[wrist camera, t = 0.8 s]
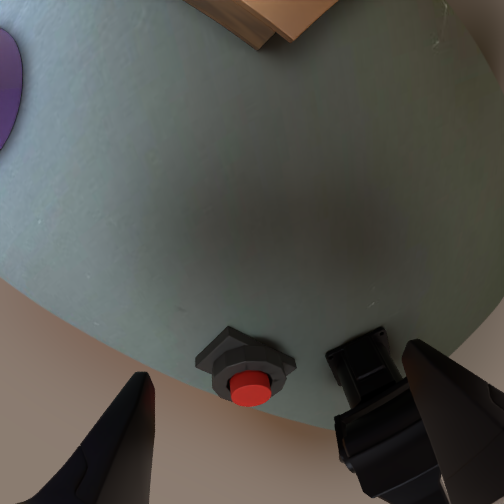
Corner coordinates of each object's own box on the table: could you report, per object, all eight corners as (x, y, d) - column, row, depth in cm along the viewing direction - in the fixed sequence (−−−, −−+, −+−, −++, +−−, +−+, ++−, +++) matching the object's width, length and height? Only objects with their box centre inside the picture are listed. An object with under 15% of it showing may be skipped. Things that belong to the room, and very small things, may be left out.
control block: (299, 355, 28) (306, 378, 25) (256, 388, 30) (260, 411, 27) (232, 320, 25) (235, 347, 22) (191, 361, 27) (190, 386, 24)
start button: (276, 376, 25) (279, 392, 24) (251, 395, 26) (253, 410, 25) (246, 363, 24) (248, 380, 22) (221, 384, 25) (222, 400, 23)
